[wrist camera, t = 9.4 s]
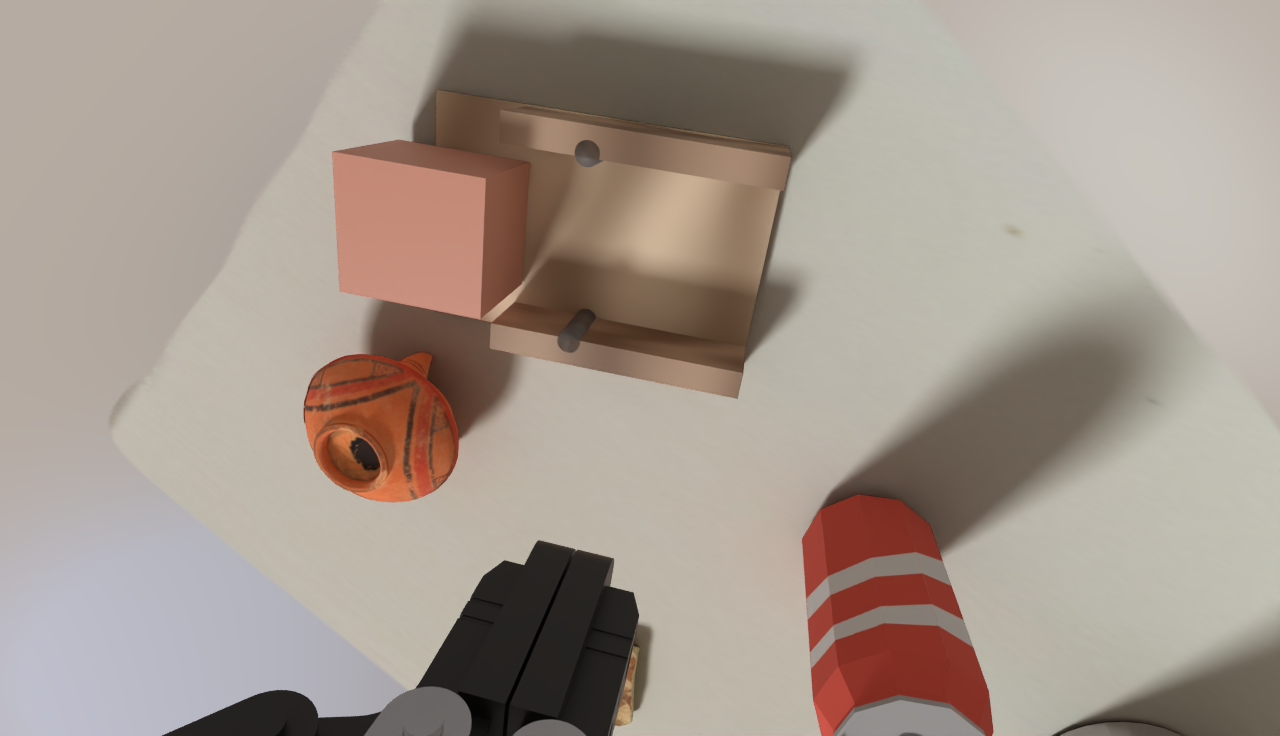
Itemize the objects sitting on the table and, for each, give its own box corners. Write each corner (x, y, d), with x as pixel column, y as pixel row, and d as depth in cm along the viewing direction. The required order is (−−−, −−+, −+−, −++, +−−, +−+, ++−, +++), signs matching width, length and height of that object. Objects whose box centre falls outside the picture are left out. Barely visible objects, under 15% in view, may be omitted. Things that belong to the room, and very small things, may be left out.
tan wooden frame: (789, 146, 27) (791, 156, 24) (740, 367, 32) (737, 399, 28) (441, 90, 29) (401, 92, 26) (438, 307, 33) (403, 332, 30)
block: (530, 162, 29) (485, 178, 24) (522, 283, 31) (480, 319, 27) (399, 139, 30) (332, 151, 25) (400, 260, 32) (339, 291, 27)
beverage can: (866, 607, 36) (908, 838, 25) (776, 536, 35) (780, 742, 24) (958, 542, 33) (1049, 768, 22) (864, 464, 33) (912, 659, 22)
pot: (521, 410, 34) (449, 502, 29) (441, 463, 39) (366, 550, 34) (408, 292, 33) (309, 367, 27) (338, 362, 37) (241, 438, 32)
